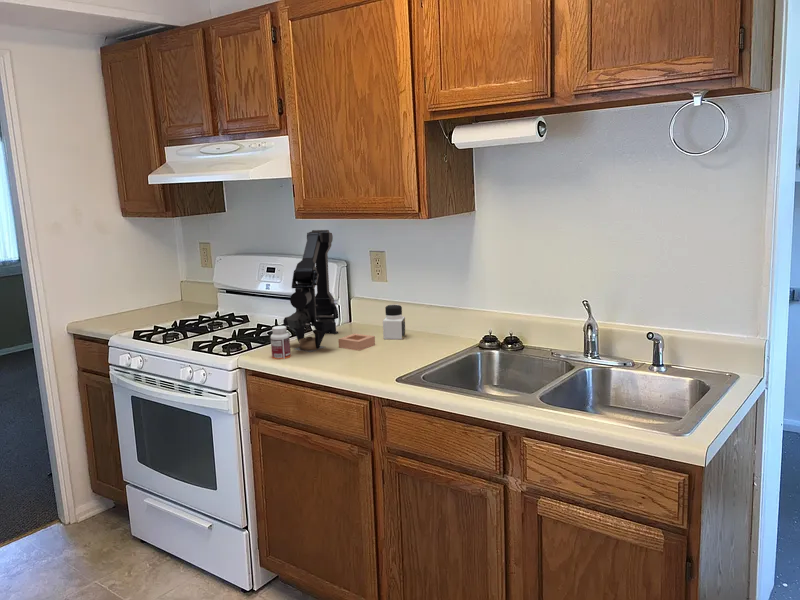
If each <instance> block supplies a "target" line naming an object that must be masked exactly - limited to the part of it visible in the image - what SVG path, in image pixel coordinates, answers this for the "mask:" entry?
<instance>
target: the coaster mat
mask: <svg viewBox="0 0 800 600" xmlns="http://www.w3.org/2000/svg"><path fill="white" fill-rule="evenodd" d="M324 348H325V346H324V345H320V348H319V349H316V350H310V351H305V350H300V348H299V346H298V347H295V348H293V350H296V351H302V352H307V353H312V352H315V351H318V350H322V349H324Z"/></svg>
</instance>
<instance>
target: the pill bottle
mask: <svg viewBox="0 0 800 600" xmlns="http://www.w3.org/2000/svg"><path fill="white" fill-rule="evenodd" d="M271 331H272V334H271V335H270V345H271V347H270V348H271V358H272V359H274V360H284V359H288V358H291V356H292V355H291V353H292V352H291V341H290V334H289V333H288V332H287V326H284V325H277V326H276V325H275V326H273V327H272V329H271Z"/></svg>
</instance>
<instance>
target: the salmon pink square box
mask: <svg viewBox="0 0 800 600" xmlns="http://www.w3.org/2000/svg"><path fill="white" fill-rule="evenodd" d="M337 342H338V348H341V349H346V350H354V351H359V352H360V351H362V350H364V349H367V348H370V347H373V346H375V345H376V337H375V336H374V335H370V334H369V335H368V334H361V333H355V332H354V333H352V334H349V335H345V336H343V337H340V338H338V341H337Z"/></svg>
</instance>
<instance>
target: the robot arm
mask: <svg viewBox="0 0 800 600" xmlns="http://www.w3.org/2000/svg"><path fill="white" fill-rule="evenodd" d="M333 237H334V236H333V233H332V232H330V230H329V229H313V230H311V231H309V232H306V243H305V247H304V250H303V251H304V252H303V255H302V259H301V260H300V261H299V262H298V263H296V266H295V269H294V270H293V272H292V273H293V275H292V282H291V289H294V290H295V291H294V292H293V293H292V294H291V295H290V299H289V301H290V305H291V306H292V307H293V308H295V312H293V313H292V314H291V315H289V316H286V317H284V319H283V326H286V327H288V329H290V330H291V331H293V333H294V335H295V337H296V339H297V341H298V342H299V340H300V339H302V338H305V332H306V331H305V330H306V326H309V327H314V329H313V330H312V331H311V332H312V333H313V334H314V337H315V343H316V348H317V349H318V348H319V347H320V346H321V344H322V342H323V339H324V337H325V335H326V334H329V335H330V334H331V335H335V334H338V333H339V331H338V330H337V322H336V319H339V311H338V308H337V305H336V303H335V298H334V296H333V295H332V293H331V292H330V282H329V281H330V278H329V261H328V260H329V256H328V254H329V251H330V250H331V248H332V243H333V241H334V240H333ZM315 287H316V289H315Z"/></svg>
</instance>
